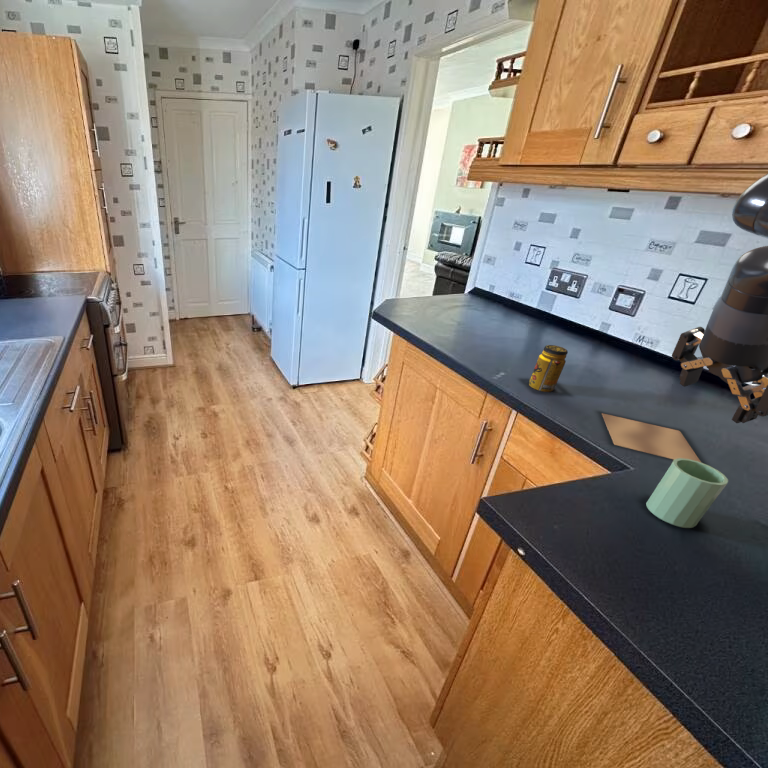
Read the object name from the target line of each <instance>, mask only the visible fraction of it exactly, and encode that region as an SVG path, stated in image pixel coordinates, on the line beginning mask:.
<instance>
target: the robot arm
mask: <svg viewBox="0 0 768 768" xmlns="http://www.w3.org/2000/svg"><path fill="white" fill-rule="evenodd" d="M731 218H732V221H733V223H734V224H735V226H736V227H738V228H739V229H741V230H743V231H745V232H747V233H750V234H753V235H756V236H759V237H762V238H765V239H768V173H766V174H764V175H763V176H761V177H760V178H758V179H757V180H755V181H754V182H752V183H751V184H750V185H749V186H747V188H745V190H744V191H742V192H741V194H740V195H739V196H738V197H737V199H736V200H735V203H733V207H732V210H731ZM698 348H699V351H700V354H701V356H696V355H695V354H696V351H698ZM672 351H673V352H672V353H671V358H672V360H674V361H679V362H680V367H681V368H682V369H681V371H680V375H679V381H680V382H679V385H681V386H682V387H684V388H686V387H689V386H691V385H694V384H696V383H697V382H698V381H699V380H700V377H701V375H702V372H703V370H704V367H706V369H707V371H708V372H709V373H710V374H713V375H714V376H716V377H719V378H720V380H722V381H723V382H724V383H726V384H728V387H729V389H730V392H731V394H732V395H733V396H737V398H738V401H739V405H738V407H737V409H736V411H735V412H734V414H733V416H732V418H731V421H732V422H734V423H735V424H740V423H742V424H744V423H749V422H751V421H754V420H757V418H758V416H760V417H763V418H764V417H767V416H768V245H765V246H764V245H763V246H760V247H755V248H753V249H751V250H748V251H746V252H745V253H744V254H742V255H741V256H740V257H738V258H737V260H736V261H735V263H734V264H733V266H732V268H731V271H730V273H729V275H728V277H727V280H726V283H725V285H724V288H723V290H722V293H721V294H720V296H719V298H718V300H717V301H716V303H715V304H714V307H713V308H712V311H711V314H710V316H709V319H708V321H707V324H706V327H705V328H704V327H703V326H697V327H695V328H691V329H689V330H687V331H684V332H681V333H680V335H679V337H678V340H677V342H676V344H675V347H674V349H673V350H672ZM746 383H750V384H748V385H745V386H743V384H746ZM752 394H753V397H754V398H752V399H751V395H752Z"/></svg>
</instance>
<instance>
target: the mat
mask: <svg viewBox="0 0 768 768" xmlns="http://www.w3.org/2000/svg"><path fill="white" fill-rule="evenodd" d="M601 416H602V418H603V421H604V423H605V425H606V428H607V431H608V433H609V435H610V438H611V441H612V443H613V445H614V446H619V447H622V448H626V449H631V450H634V451H638V452H641V453H642V452H643V453H645V454H646V453H647V454H649V455H650V454H651V455H654V456H658V457H662V458H667V459H670V460H674V459H678V458H684V459H690V460H694V461H698V462H701V463H702V461H701V460H700V458H699V457H698V456H697V454H696V453H695V451H694V449H693V447H691V445H690V443H689V442H688V441H687V439H686V438H685V436H684V435H683V433H682V432H681V431H680V430H678V429H674V428H669V427H664V426H660V425H655V424H651V423H647V422H643V421H638V420H633V419H629V418H625V417H621V416H615V415H612V414H607V413H603V412H602V413H601Z"/></svg>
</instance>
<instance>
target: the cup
mask: <svg viewBox="0 0 768 768" xmlns="http://www.w3.org/2000/svg"><path fill="white" fill-rule="evenodd" d="M728 483H729V479H728V478H727V476H726V474H725V473H722V472H721V471H720V470H718V469H717V468H714V467H713V466H711V465H709V464H706V463H703V462H702V461H701V462H698V461H694V460H690V459H684V458H678V459H672V461H671V463H670V465H669V466H668V468H667V470H666V471H665V472H664V475H663V476H662V478H661V479H660V481H659V482H658V484H657V485H656V486H655V488H654V490H653V491H652V493H651V494H650V496H649V498H648V499H647V501H646V503H645V504H646V508H647V509H648V511H649V512H650V513H652V514H653V515H654V516H655V517H657V518H658V519H659V520H662V522H663V521H664V522H665V523H667V524H670V525H672V526H676V527H679V528H684V529H692V528H694V527H697V525H698V524H699V522H700V521H701V520H702V518H703V517H704V516H705V514H706V513H707V512H708V511H709V509H710V508H711V506H712V505H713V504H714V502H715V501H716V499H717V498H718V497H719V496H720V495H721V493H722V492H723V490H724V489H725V488H726V486H727V485H728Z"/></svg>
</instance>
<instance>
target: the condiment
mask: <svg viewBox="0 0 768 768" xmlns="http://www.w3.org/2000/svg"><path fill="white" fill-rule="evenodd" d="M567 355H568V350H567V349H566V348H564V347H563V346H559V345H556V344H555V345H554V344H547V345H545V346H544V347H543V350H542V352H541V354H539V355H538V358H537V361H536V363H535V365H534V369H533V370H532V373H531V376H530V378H529V381H528V385H529V387H530V388H532V389H533V390H536V391H539V392H544V393H551V392H553V391H554V390H555V388H556V386H557V384H558V382H559V379H560V377H561V374H562V372H563V369H564V367H565V365H566V361H567V360H566V358H567Z"/></svg>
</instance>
